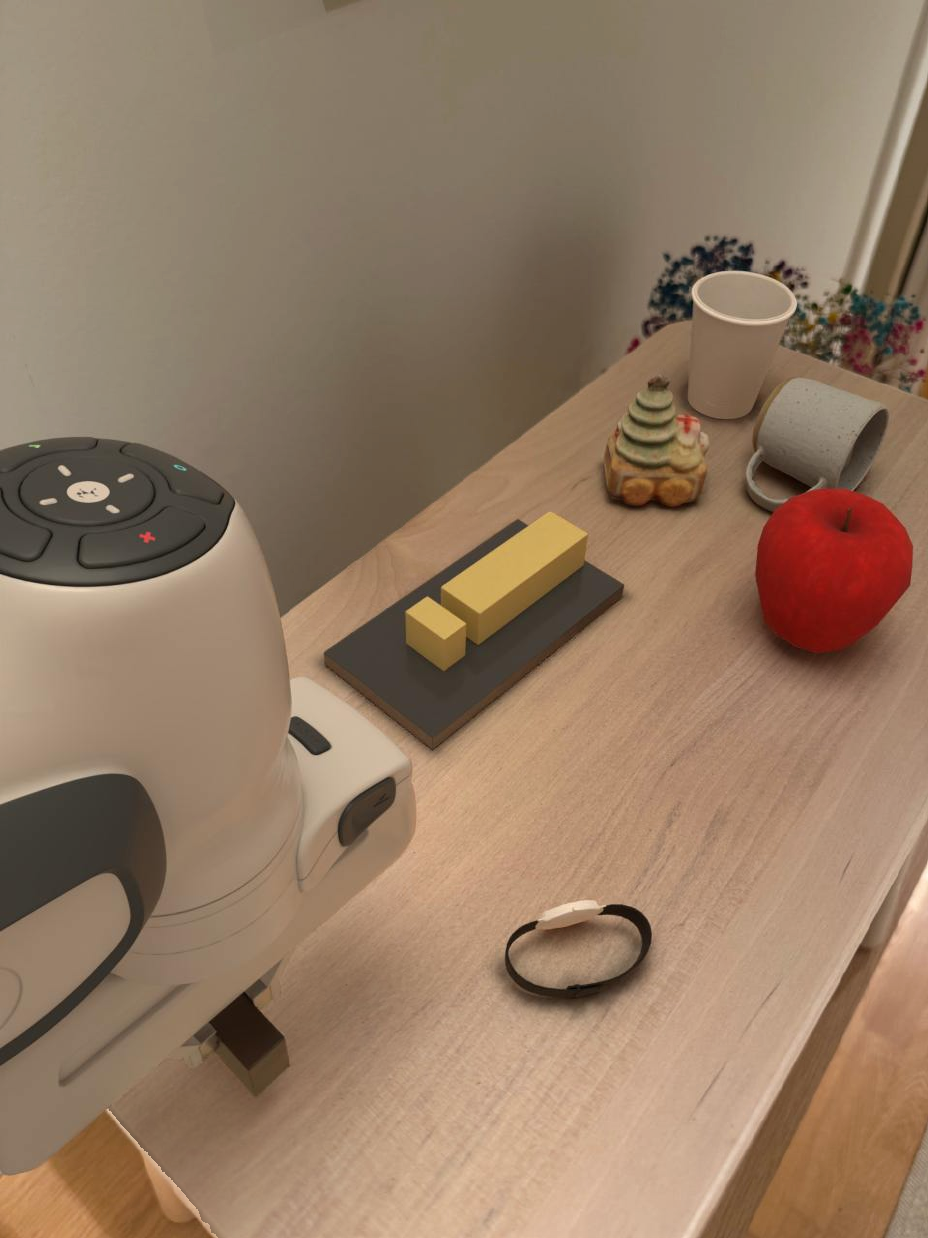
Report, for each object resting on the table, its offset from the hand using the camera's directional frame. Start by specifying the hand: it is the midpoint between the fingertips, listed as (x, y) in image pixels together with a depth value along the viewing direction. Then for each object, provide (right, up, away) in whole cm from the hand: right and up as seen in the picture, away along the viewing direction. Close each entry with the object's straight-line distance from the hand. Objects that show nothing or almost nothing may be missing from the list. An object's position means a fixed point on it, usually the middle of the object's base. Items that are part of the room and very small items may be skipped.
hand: (227, 1019), depth 47 cm
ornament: (+25, +28, +36) cm, 52 cm away
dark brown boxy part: (-2, 0, +3) cm, 3 cm away
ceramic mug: (+37, +29, +37) cm, 60 cm away
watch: (+16, 0, +8) cm, 18 cm away
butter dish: (+12, +17, +25) cm, 32 cm away
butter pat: (+9, +16, +22) cm, 28 cm away
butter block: (+14, +20, +26) cm, 35 cm away
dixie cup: (+33, +37, +45) cm, 67 cm away
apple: (+34, +17, +26) cm, 46 cm away
